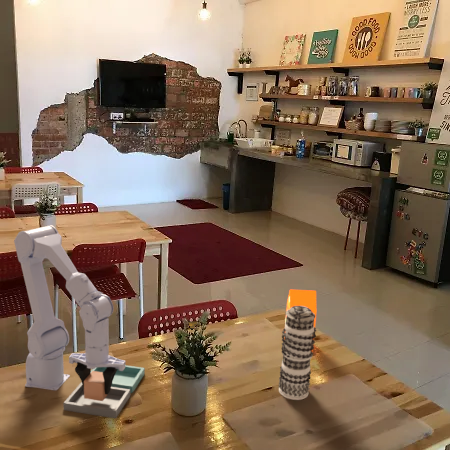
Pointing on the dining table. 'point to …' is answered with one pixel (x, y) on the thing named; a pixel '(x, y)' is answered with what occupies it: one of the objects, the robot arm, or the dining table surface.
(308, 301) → the orange juice
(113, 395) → the grey bin
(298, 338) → the decorative candle
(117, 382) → the teal bin
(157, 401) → the dining table surface
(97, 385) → the terracotta block
